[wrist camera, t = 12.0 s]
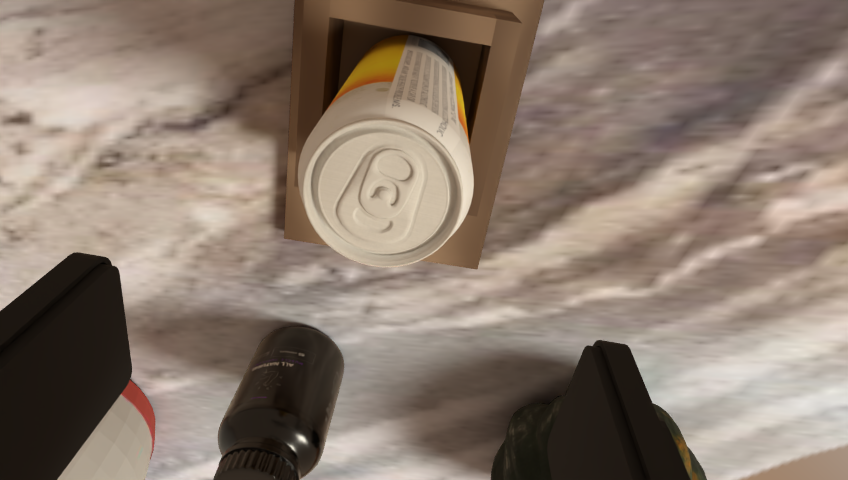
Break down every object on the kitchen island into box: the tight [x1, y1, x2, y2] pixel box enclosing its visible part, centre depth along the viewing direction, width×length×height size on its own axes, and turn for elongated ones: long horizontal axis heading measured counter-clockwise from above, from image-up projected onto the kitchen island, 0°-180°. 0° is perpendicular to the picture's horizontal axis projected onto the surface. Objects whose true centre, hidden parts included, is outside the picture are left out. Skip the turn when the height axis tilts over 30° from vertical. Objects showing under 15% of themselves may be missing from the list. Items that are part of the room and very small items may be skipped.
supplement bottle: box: [213, 326, 344, 480], centre depth 37 cm, size 7×7×12 cm
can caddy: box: [284, 0, 544, 269], centre depth 30 cm, size 13×22×6 cm, turn 171°
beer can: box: [298, 35, 474, 267], centre depth 24 cm, size 6×6×15 cm
